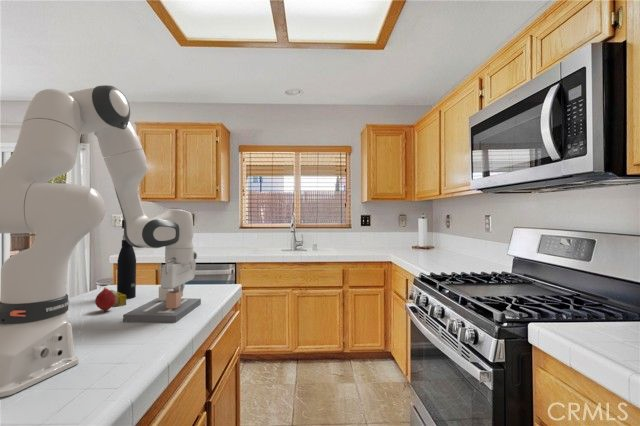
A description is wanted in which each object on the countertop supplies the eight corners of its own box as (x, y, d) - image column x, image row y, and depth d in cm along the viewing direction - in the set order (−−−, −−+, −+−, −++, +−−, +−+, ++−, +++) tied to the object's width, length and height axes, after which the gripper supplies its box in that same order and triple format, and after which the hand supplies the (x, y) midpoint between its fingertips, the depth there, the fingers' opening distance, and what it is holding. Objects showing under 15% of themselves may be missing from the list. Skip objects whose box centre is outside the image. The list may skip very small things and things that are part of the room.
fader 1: (167, 300, 125) (167, 286, 125) (158, 300, 125) (158, 286, 125) (172, 298, 129) (172, 284, 129) (163, 297, 129) (163, 284, 129)
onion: (119, 309, 122) (119, 285, 122) (107, 314, 116) (108, 289, 116) (103, 308, 122) (103, 285, 122) (90, 313, 116) (91, 288, 116)
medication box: (104, 301, 133) (104, 290, 133) (112, 300, 135) (112, 289, 135) (118, 307, 125) (118, 295, 125) (126, 305, 128) (126, 294, 128)
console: (176, 322, 108) (176, 315, 108) (123, 321, 108) (123, 314, 108) (200, 304, 130) (200, 298, 130) (156, 303, 130) (156, 297, 130)
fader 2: (175, 308, 115) (176, 292, 115) (165, 308, 115) (166, 292, 115) (180, 305, 119) (181, 290, 119) (171, 305, 119) (171, 290, 119)
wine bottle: (119, 296, 141) (120, 219, 141) (137, 295, 143) (138, 220, 143) (115, 299, 135) (116, 220, 135) (133, 298, 137) (135, 220, 137)
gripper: (176, 260, 111) (175, 305, 110) (198, 253, 131) (198, 291, 131) (155, 259, 111) (155, 304, 110) (181, 253, 131) (181, 291, 131)
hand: (178, 297), depth 121 cm, fingers closed
